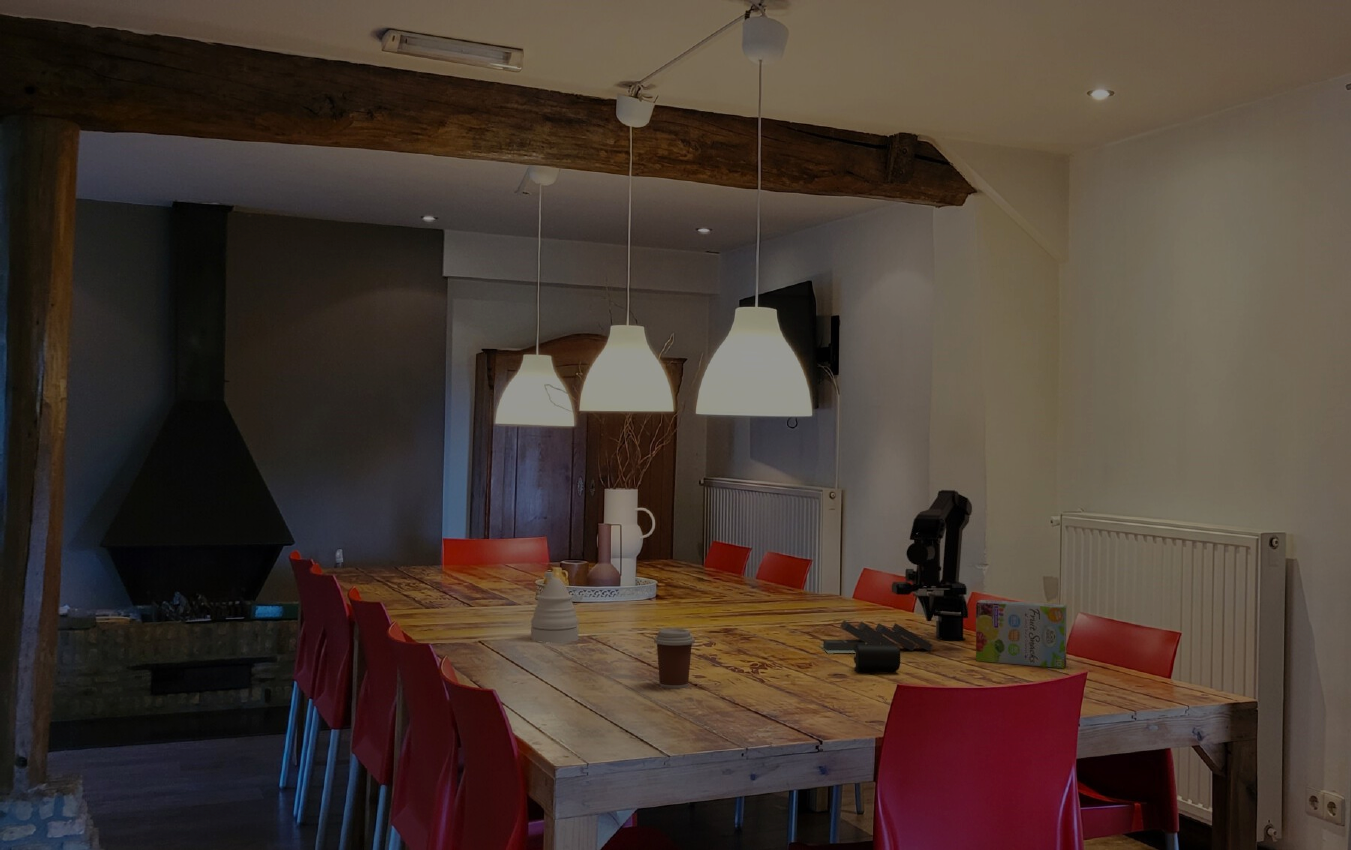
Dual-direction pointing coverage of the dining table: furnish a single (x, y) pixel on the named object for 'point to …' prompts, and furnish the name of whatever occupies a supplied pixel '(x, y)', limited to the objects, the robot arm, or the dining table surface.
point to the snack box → (1021, 633)
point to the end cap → (877, 657)
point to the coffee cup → (674, 657)
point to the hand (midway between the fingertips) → (928, 621)
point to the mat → (838, 651)
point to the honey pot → (554, 614)
